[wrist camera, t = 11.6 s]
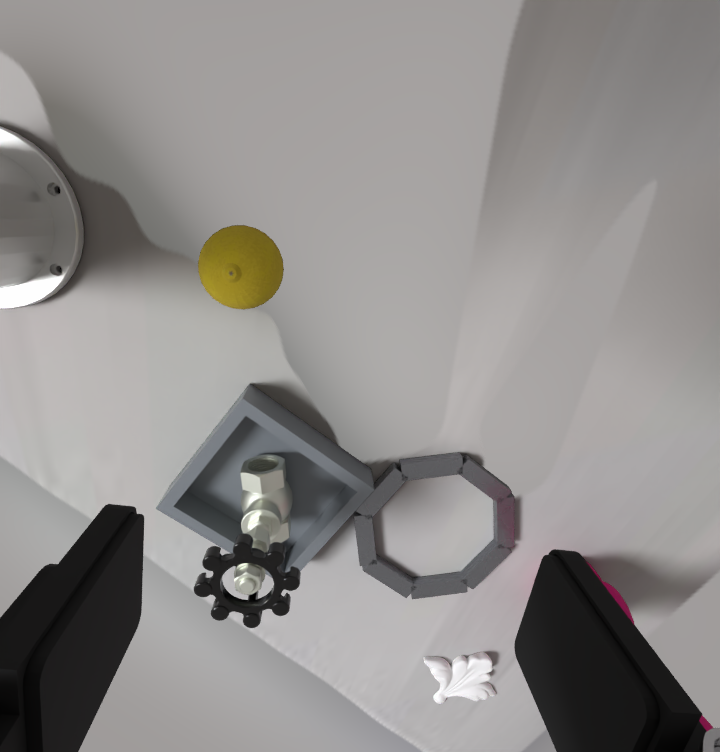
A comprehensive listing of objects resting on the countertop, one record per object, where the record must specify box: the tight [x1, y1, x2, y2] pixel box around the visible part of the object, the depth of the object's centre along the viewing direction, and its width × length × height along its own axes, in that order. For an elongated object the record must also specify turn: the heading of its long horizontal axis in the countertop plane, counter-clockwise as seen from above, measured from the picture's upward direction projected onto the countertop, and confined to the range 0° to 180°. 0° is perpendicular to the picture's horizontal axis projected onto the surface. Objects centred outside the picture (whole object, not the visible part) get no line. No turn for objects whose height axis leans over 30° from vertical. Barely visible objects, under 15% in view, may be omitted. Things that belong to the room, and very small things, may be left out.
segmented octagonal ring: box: [354, 452, 514, 599], centre depth 44 cm, size 15×15×1 cm
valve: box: [194, 454, 301, 628], centre depth 35 cm, size 7×7×12 cm
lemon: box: [198, 225, 284, 309], centre depth 32 cm, size 6×6×8 cm
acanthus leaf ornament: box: [424, 652, 496, 704], centre depth 50 cm, size 8×7×2 cm
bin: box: [156, 384, 374, 577], centre depth 40 cm, size 13×12×4 cm
